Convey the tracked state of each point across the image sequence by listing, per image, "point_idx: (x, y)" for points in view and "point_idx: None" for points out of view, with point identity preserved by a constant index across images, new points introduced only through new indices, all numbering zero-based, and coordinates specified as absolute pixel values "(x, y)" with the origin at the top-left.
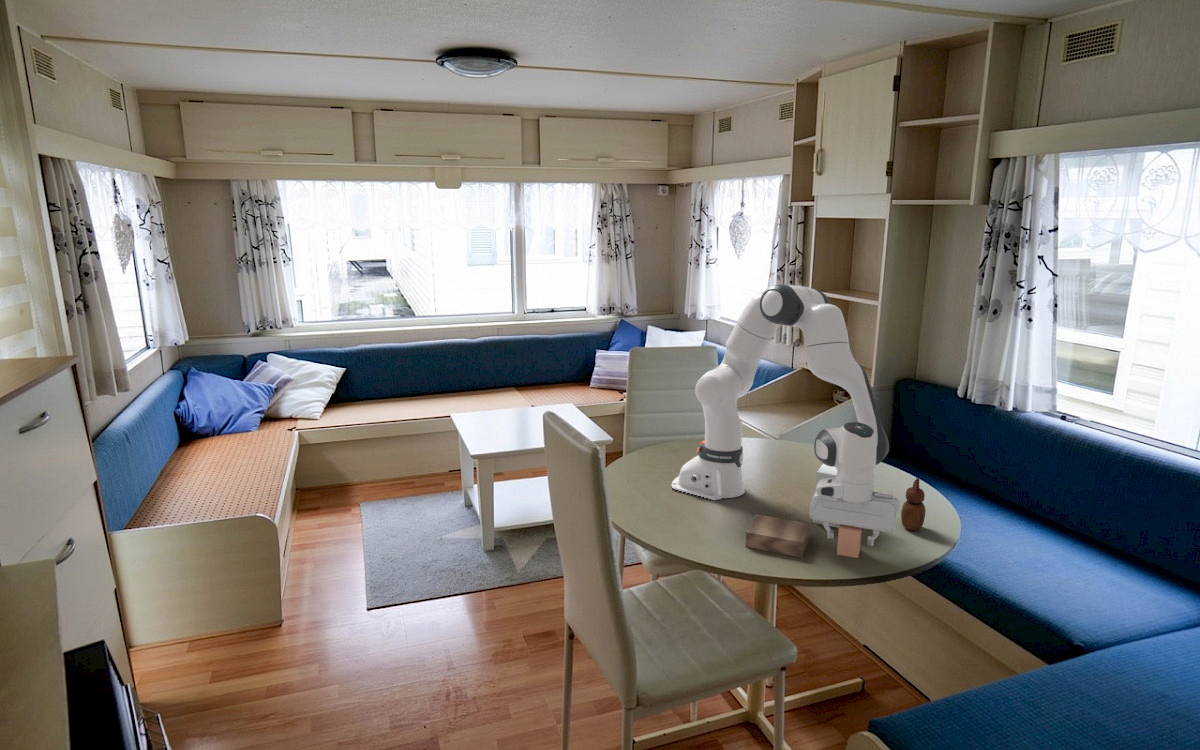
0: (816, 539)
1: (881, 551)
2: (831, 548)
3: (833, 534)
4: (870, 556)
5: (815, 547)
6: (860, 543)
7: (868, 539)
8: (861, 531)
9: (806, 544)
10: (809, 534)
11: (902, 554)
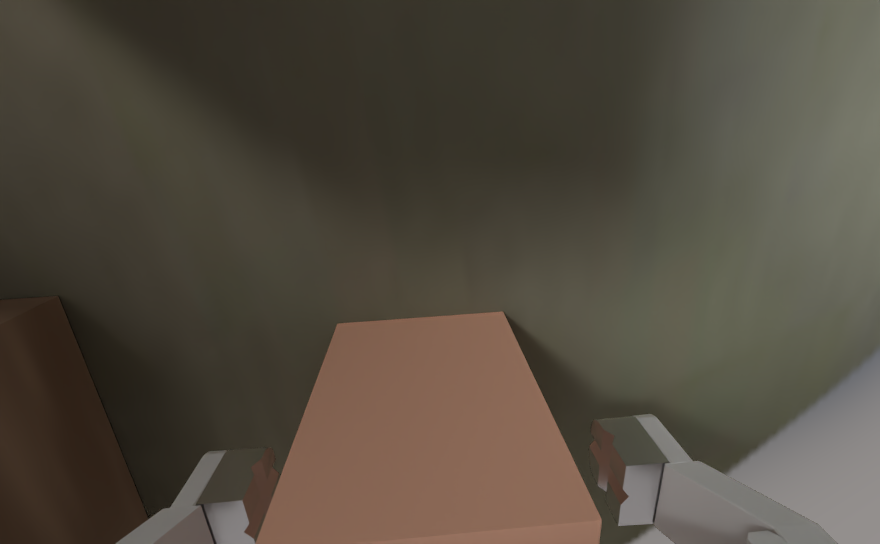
0: (123, 293)
1: (668, 259)
2: (296, 390)
3: (264, 518)
4: (583, 379)
5: (184, 429)
6: (516, 344)
7: (627, 523)
8: (557, 437)
9: (108, 469)
10: (27, 358)
11: (827, 234)
